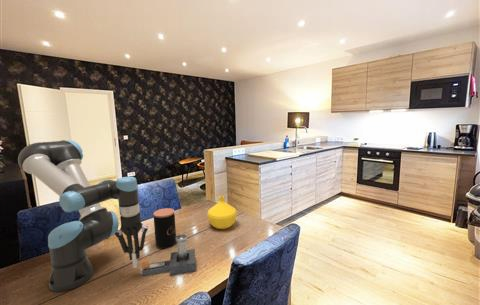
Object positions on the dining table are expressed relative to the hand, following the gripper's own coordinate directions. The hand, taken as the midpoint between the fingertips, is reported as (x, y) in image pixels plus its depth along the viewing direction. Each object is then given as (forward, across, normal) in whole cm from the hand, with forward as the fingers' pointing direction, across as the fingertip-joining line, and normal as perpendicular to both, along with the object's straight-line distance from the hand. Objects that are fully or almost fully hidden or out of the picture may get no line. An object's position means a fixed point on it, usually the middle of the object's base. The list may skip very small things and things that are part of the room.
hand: (135, 265), depth 97 cm
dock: (+4, +14, +1) cm, 15 cm away
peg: (+4, +20, +1) cm, 20 cm away
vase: (+4, +43, +35) cm, 56 cm away
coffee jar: (+4, +11, +22) cm, 25 cm away
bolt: (+4, +7, 0) cm, 8 cm away
